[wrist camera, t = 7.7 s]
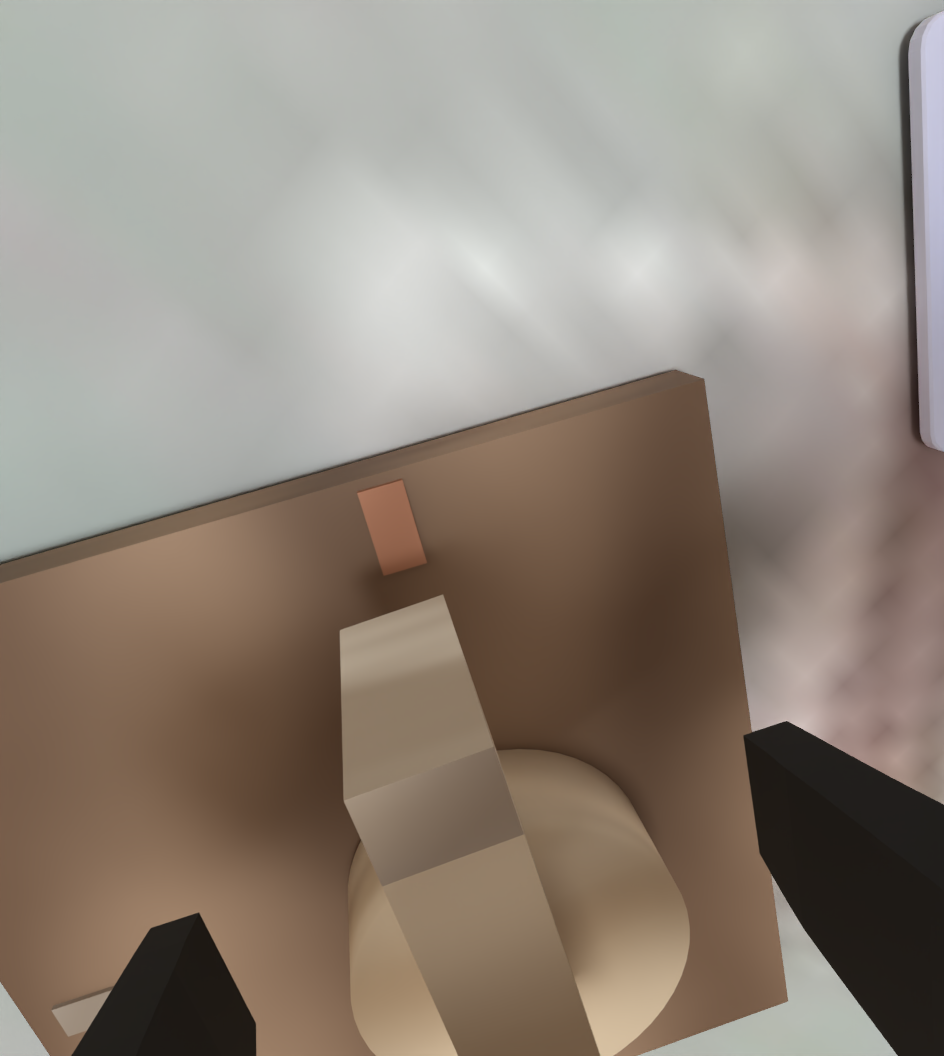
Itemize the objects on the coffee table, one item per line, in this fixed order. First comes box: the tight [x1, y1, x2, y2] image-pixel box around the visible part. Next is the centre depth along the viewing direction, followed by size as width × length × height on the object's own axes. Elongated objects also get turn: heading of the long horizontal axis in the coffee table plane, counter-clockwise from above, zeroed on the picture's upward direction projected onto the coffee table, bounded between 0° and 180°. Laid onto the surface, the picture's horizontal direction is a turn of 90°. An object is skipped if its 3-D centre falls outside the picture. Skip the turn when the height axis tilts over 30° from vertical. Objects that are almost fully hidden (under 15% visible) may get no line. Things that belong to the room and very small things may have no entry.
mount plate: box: [0, 370, 788, 1056], centre depth 16 cm, size 16×16×1 cm
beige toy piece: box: [340, 595, 690, 1056], centre depth 13 cm, size 11×6×6 cm, turn 16°
